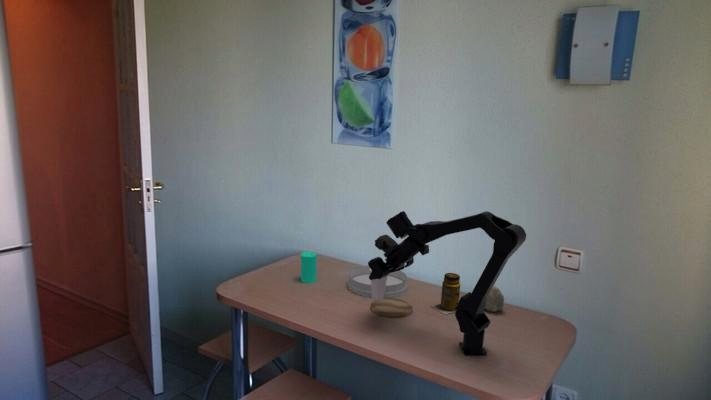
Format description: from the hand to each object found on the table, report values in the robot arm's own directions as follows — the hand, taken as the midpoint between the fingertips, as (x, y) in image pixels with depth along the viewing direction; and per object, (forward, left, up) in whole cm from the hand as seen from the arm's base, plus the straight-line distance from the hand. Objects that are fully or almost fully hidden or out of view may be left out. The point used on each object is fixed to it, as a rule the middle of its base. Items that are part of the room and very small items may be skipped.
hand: (375, 276), depth 161 cm
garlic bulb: (+6, -41, -13) cm, 44 cm away
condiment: (+6, -26, -14) cm, 30 cm away
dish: (+25, -4, -14) cm, 29 cm away
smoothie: (-1, -1, -7) cm, 7 cm away
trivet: (+5, -7, -13) cm, 16 cm away
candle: (+31, +22, -13) cm, 40 cm away
